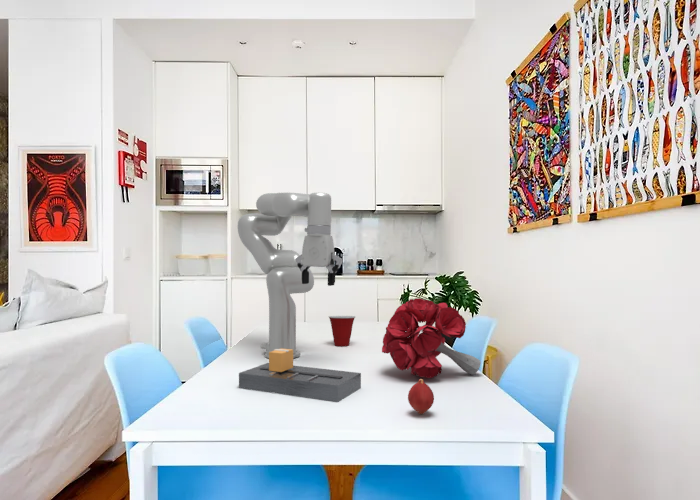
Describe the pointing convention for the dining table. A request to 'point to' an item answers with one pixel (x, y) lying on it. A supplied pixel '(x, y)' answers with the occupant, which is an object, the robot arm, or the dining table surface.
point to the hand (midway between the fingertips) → (318, 284)
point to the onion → (420, 397)
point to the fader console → (302, 382)
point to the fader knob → (280, 360)
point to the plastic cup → (341, 329)
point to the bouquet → (425, 338)
